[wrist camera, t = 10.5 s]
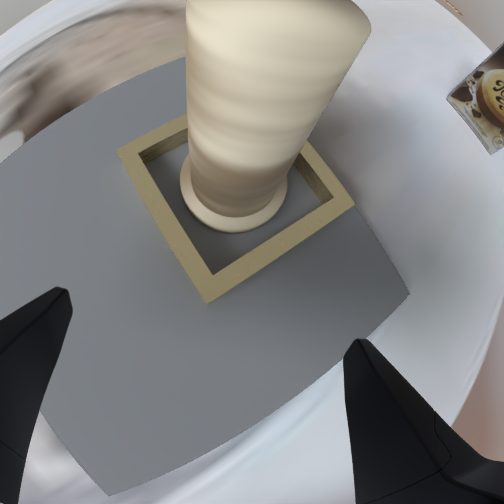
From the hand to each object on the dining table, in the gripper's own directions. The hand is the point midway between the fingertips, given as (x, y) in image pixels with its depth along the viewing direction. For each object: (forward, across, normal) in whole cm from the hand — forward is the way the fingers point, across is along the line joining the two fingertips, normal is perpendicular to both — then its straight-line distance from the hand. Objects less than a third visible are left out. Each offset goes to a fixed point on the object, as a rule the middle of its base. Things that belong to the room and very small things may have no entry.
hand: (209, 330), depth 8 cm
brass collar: (+10, 0, -1) cm, 11 cm away
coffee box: (+24, -28, -13) cm, 39 cm away
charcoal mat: (+8, +4, +3) cm, 10 cm away
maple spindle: (+10, 0, -1) cm, 11 cm away
